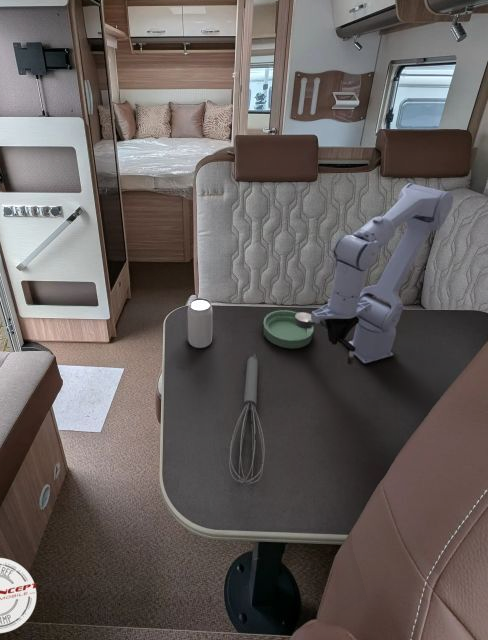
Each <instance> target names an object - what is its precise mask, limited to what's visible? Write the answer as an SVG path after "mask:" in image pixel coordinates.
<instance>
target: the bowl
mask: <svg viewBox="0 0 488 640" xmlns="http://www.w3.org/2000/svg"><path fill="white" fill-rule="evenodd" d="M297 313H298V312H297V311H293V310H287V309H283V310H282V309H278V310H273V311H272V312H270V313H267V314H266V315H265V316H264V318H263V321H262V333H263V336H264V337H265V338H266V339H267V341H269V342H270V343H272V344H273V345H276V346H278V347H281V348H285V349H300V348H303V347H305V346H307V345H309V344H310V343H311V341H312V340H313V338H314V337H313V336H314V329H315V327H314V326H315V325H313V327H312V328H308V329H305V328H300V327H298V326H296V325H295V315H296V314H297Z"/></svg>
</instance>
